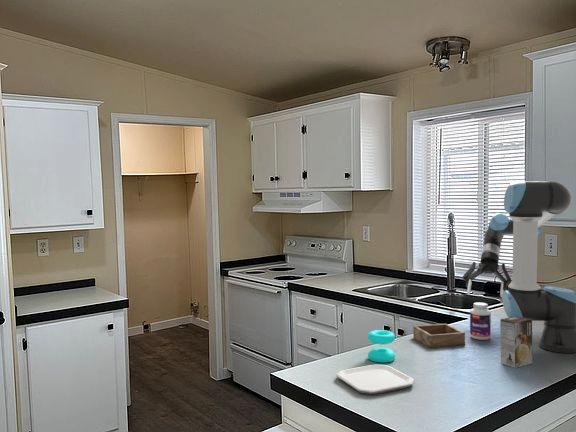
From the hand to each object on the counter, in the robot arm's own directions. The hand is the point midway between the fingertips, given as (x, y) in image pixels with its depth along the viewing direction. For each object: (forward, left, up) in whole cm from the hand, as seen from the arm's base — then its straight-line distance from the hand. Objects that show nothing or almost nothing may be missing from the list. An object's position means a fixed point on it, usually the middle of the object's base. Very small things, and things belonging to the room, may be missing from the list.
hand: (484, 294), depth 227 cm
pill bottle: (-8, +7, -17) cm, 20 cm away
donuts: (-23, +57, -17) cm, 64 cm away
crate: (-8, +26, -16) cm, 32 cm away
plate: (-44, +68, -17) cm, 83 cm away
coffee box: (-40, +13, -17) cm, 45 cm away
